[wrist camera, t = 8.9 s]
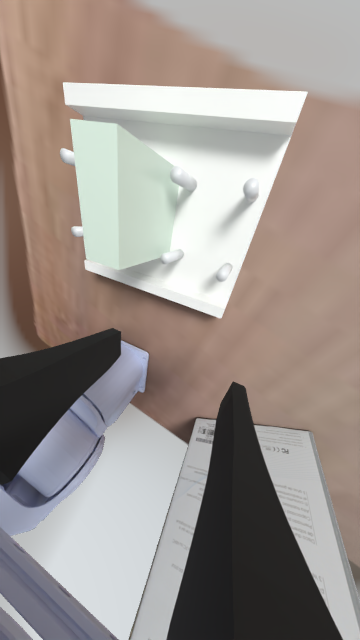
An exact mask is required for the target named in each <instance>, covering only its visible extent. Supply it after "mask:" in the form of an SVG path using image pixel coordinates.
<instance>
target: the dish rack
mask: <svg viewBox="0 0 360 640" xmlns="http://www.w3.org/2000/svg"><path fill="white" fill-rule="evenodd" d="M63 88H64V96H65V104H66V105H67V106H69V107H70V108H72V109H73V110H75V111H76V112H78V113H80V114H81V115H83V119H84V120H85V121H95V122H105V123H114V124H118V125H119V126H121V127H122V128H124V129H125V130H126V131H128V132H129V133H130V134H132V135H133V136H134V137H136V138H137V139H138V140H140V141H141V142H142V143H144V144H145V145H146V146H148V147H149V148H151V149H152V150H153V151H155V152H156V153H157V154H159V155H160V156H161V157H163V158H164V159H165V160H167V161H168V162H169V163H171V164H172V165H173V166H174V167H173V168H172V169H171V172H170V178H171V180H172V182H174V183H175V184H177V185H179V191H178V198H177V205H176V212H175V219H174V226H173V233H172V240H171V247H170V252H167V253H163V254H162V255H161V257H160V258H157V259H154V260H151V261H147V262H144V263H141V264H138V265H134V266H131V267H128V268H125V269H121V270H117V269H114V268H111V267H108V266H105V265H102V264H100V263H97V262H94V261H91V260H85V269H86V270H88V271H91V272H94V273H97V274H99V275H102V276H105V277H108V278H110V279H113V280H116V281H119V282H121V283H124V284H127V285H130V286H133V287H135V288H138V289H141V290H144V291H146V292H149V293H152V294H155V295H157V296H160V297H163V298H166V299H168V300H171V301H174V302H177V303H179V304H182V305H185V306H188V307H190V308H193V309H196V310H199V311H201V312H204V313H207V314H210V315H212V316H215V317H218V318H222V315H223V313H224V310H225V308H226V305H227V303H228V300H229V297H230V295H231V292H232V290H233V287H234V284H235V282H236V279H237V277H238V274H239V271H240V269H241V266H242V263H243V261H244V258H245V256H246V253H247V250H248V248H249V245H250V243H251V240H252V237H253V235H254V232H255V230H256V227H257V224H258V222H259V219H260V216H261V214H262V211H263V209H264V206H265V203H266V201H267V198H268V196H269V193H270V190H271V188H272V185H273V183H274V180H275V177H276V175H277V172H278V169H279V167H280V164H281V162H282V159H283V156H284V154H285V151H286V149H287V146H288V143H289V141H290V138H291V135H292V133H293V130H294V128H295V125H296V122H297V120H298V117H299V114H300V112H301V109H302V106H303V104H304V101H305V98H306V95H307V93H308V92H299V91H273V90H247V89H221V88H195V87H169V86H143V85H117V84H91V83H65V82H63ZM60 156H61V159H62V161H63V162H64V163H67V164H70V165H73V166H75V158H74V152H72V151H70V150H67V149H65V148H62V149H61V150H60ZM71 231H72V234H73V235H74V236H75V237H81V236H84V235H83V227H72V229H71Z"/></svg>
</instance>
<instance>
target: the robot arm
mask: <svg viewBox="0 0 360 640" xmlns="http://www.w3.org/2000/svg"><path fill="white" fill-rule="evenodd" d="M148 359H149V354H148V353H147V352H146V351H143V350H141V349H139V348H137V347H135V346H133V345H130V344H128V343H126V342H124V341H122V340H121V331H118V330H116V329H114V328H112V329H108V330H105V331H102V332H99V333H96V334H93V335H90V336H87V337H84V338H81V339H78V340H75V341H72V342H69V343H65V344H62V345H59V346H55V347H52V348H48V349H44V350H40V351H36V352H31V353H27V354H22V355H17V356H11V357H5V358H0V593H1V594H2V595H3V597H5V599H6V600H7V601H8V602H9V603H10V604H11V605H12V606H13V607H14V608H15V610H16V611H17V612H18V613H19V614H20V615H21V616H22V617H23V618H24V619H25V620H26V622H28V624H29V625H30V626H31V627H32V628H33V629H34V630H35V631H36V632H37V634H38V635H39V636H40V637H41V638H42V639H43V640H118V639H117V638H116V637H115V636H114V635H113V634H112V633H111V632H110V631H109V630H108V629H107V628H106V627H105V626H104V625H103V624H101V623H100V622H99V621H98V620H97V619H96V618H95V617H94V616H93V615H92V614H91V613H90V612H89V611H88V610H87V609H86V608H85V607H84V606H83V605H81V604H80V603H79V602H78V601H77V600H76V599H75V598H74V597H73V596H72V595H71V594H70V593H69V592H68V591H67V590H66V589H65V588H64V587H63V586H62V585H61V584H60V583H58V582H57V581H56V580H55V579H54V578H53V577H52V576H51V575H50V574H49V573H48V572H47V571H46V570H45V569H44V568H43V567H42V566H41V565H40V564H38V562H36V561H35V560H34V559H33V558H32V557H31V556H30V555H29V554H28V553H27V552H26V551H25V550H24V549H23V548H22V547H20V545H19V544H18V543H17V542H15V541H14V540H13V539H12V538H11V537H10V536H12V535H16V534H20V533H24V532H27V531H31V530H33V529H34V528H35V527H36V526H37V525H38V524H39V523H40V522H41V521H42V520H44V519H45V518H46V517H47V516H48V515H49V513H50V512H51V511H52V510H53V509H54V508H55V507H56V506H57V505H58V504H59V503H60V502H61V501H62V500H64V499H65V498H66V497H68V496H69V495H70V494H71V493H72V492H74V491H75V490H76V489H77V487H78V486H79V485H80V484H81V483H82V482H83V480H84V479H85V478H86V477H87V476H88V474H89V473H90V471H91V470H92V469H93V467H94V465H95V464H96V462H97V461H98V459H99V457H100V455H101V453H102V450H103V447H104V446H103V445H104V440H105V437H104V435H103V433H104V431H105V430H106V429H107V427H108V426H110V425H111V424H113V423H114V422H115V421H116V420H117V419H118V417H119V416H120V415H121V413H122V412H123V411H124V409H125V408H126V407H127V405H128V404H129V402H130V401H131V400H132V398H133V397H134V396H135V394H136V393H137V392H138V391H140V392H142V393H143V392H144V391H145V384H146V376H147V367H148ZM0 640H33V639H32V638H31V637H30V636H29V635H28V634H27V633H26V632H25V631H24V630H23V628H21V626H20V625H19V624H18V623H17V622H16V621H15V620H14V619H13V618H12V617H11V616H10V615H8V614H7V613H6V612H5V611H4V610H3V609H2V608H1V607H0ZM166 640H343V638H342V636H341V634H340V632H339V630H338V628H337V626H336V624H335V622H334V620H333V618H332V616H331V614H330V612H329V610H328V607H327V605H326V603H325V601H324V599H323V597H322V595H321V593H320V591H319V589H318V586H317V584H316V582H315V580H314V578H313V576H312V574H311V572H310V569H309V567H308V565H307V563H306V560H305V558H304V556H303V554H302V551H301V549H300V547H299V545H298V542H297V540H296V538H295V536H294V534H293V531H292V529H291V527H290V525H289V522H288V520H287V517H286V515H285V513H284V510H283V508H282V505H281V503H280V500H279V498H278V495H277V493H276V490H275V488H274V485H273V482H272V480H271V477H270V474H269V471H268V469H267V466H266V463H265V460H264V457H263V454H262V451H261V448H260V444H259V441H258V438H257V434H256V431H255V427H254V424H253V420H252V416H251V412H250V408H249V403H248V398H247V393H246V388H245V387H244V386H242V385H240V384H238V383H235V382H233V383H232V384H231V386H230V388H229V390H228V391H227V393H226V395H225V397H224V398H223V400H222V402H221V404H220V408H219V412H218V416H217V420H216V425H215V431H214V438H213V444H212V451H211V457H210V464H209V470H208V476H207V481H206V485H205V489H204V494H203V498H202V502H201V506H200V510H199V514H198V518H197V523H196V527H195V531H194V535H193V539H192V542H191V546H190V550H189V554H188V558H187V562H186V566H185V569H184V573H183V577H182V581H181V584H180V588H179V592H178V596H177V599H176V603H175V607H174V610H173V614H172V617H171V621H170V626H169V630H168V635H167V639H166Z"/></svg>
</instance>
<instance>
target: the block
mask: <svg viewBox="0 0 360 640" xmlns="http://www.w3.org/2000/svg"><path fill="white" fill-rule="evenodd" d="M70 123H71V132H72V140H73V149H74V158H75V166H76V175H77V183H78V192H79V201H80V209H81V218H82V227H83V235H84V244H85V253H86V259H88V260H91V261H94V262H97V263H100V264H102V265H105V266H108V267H111V268H114V269H117V270H121V269H125V268H128V267H131V266H134V265H138V264H141V263H144V262H147V261H151V260H154V259H157V258H160V257H161V255H162V254H163V253H167V252H170V247H171V240H172V233H173V226H174V219H175V212H176V205H177V198H178V191H179V185H177V184H175V183H174V182H172V180H171V178H170V172H171V169H172V168H173V167H174V166H173V165H172V164H171V163H169V162H168V161H167V160H165V159H164V158H163V157H161V156H160V155H159V154H157V153H156V152H155V151H153V150H152V149H151V148H149V147H148V146H146V145H145V144H144V143H142V142H141V141H140V140H138V139H137V138H136V137H134V136H133V135H132V134H130V133H129V132H128V131H126V130H125V129H124V128H122V127H121V126H119V125H118V124H114V123H105V122H95V121H85V120H76V119H70Z"/></svg>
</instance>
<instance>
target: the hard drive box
mask: <svg viewBox="0 0 360 640" xmlns="http://www.w3.org/2000/svg"><path fill="white" fill-rule="evenodd" d="M215 425H216V420H209V419H201V418H197V419H196V421H195V424H194V428H193V431H192V435H191V438H190V442H189V445H188V448H187V452H186V455H185V458H184V461H183V465H182V468H181V471H180V474H179V477H178V481H177V484H176V487H175V490H174V493H173V497H172V500H171V503H170V506H169V509H168V513H167V516H166V520H165V523H164V526H163V529H162V533H161V536H160V539H159V542H158V545H157V549H156V552H155V556H154V559H153V562H152V566H151V569H150V572H149V576H148V579H147V582H146V585H145V588H144V591H143V594H142V598H141V602H140V605H139V608H138V611H137V614H136V617H135V621H134V624H133V627H132V629H131V632H130V637H129V640H166V639H167V635H168V630H169V626H170V621H171V617H172V614H173V610H174V607H175V603H176V599H177V596H178V592H179V588H180V584H181V581H182V577H183V573H184V569H185V566H186V562H187V558H188V554H189V550H190V546H191V542H192V539H193V535H194V531H195V527H196V523H197V518H198V514H199V510H200V506H201V502H202V498H203V494H204V489H205V485H206V481H207V476H208V470H209V464H210V457H211V451H212V444H213V438H214V431H215ZM254 427H255V431H256V434H257V438H258V441H259V444H260V448H261V451H262V454H263V457H264V460H265V463H266V466H267V469H268V471H269V474H270V477H271V480H272V482H273V485H274V488H275V490H276V493H277V495H278V498H279V500H280V503H281V505H282V508H283V510H284V513H285V515H286V517H287V520H288V522H289V525H290V527H291V529H292V531H293V534H294V536H295V538H296V540H297V542H298V545H299V547H300V549H301V551H302V554H303V556H304V558H305V560H306V563H307V565H308V567H309V569H310V572H311V574H312V576H313V578H314V580H315V582H316V584H317V586H318V589H319V591H320V593H321V595H322V597H323V599H324V601H325V603H326V605H327V607H328V610H329V612H330V614H331V616H332V618H333V620H334V622H335V624H336V626H337V628H338V630H339V632H340V634H341V636H342V638H343V640H360V600H359V596H358V593H357V589H356V586H355V582H354V579H353V575H352V572H351V568H350V565H349V561H348V558H347V554H346V551H345V547H344V544H343V540H342V537H341V533H340V530H339V526H338V523H337V519H336V516H335V512H334V509H333V505H332V502H331V498H330V494H329V491H328V487H327V484H326V480H325V477H324V473H323V469H322V466H321V462H320V459H319V455H318V452H317V448H316V444H315V441H314V437H313V433H312V432H310V431H303V430H294V429H287V428H280V427H273V426H260V425H254Z"/></svg>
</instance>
